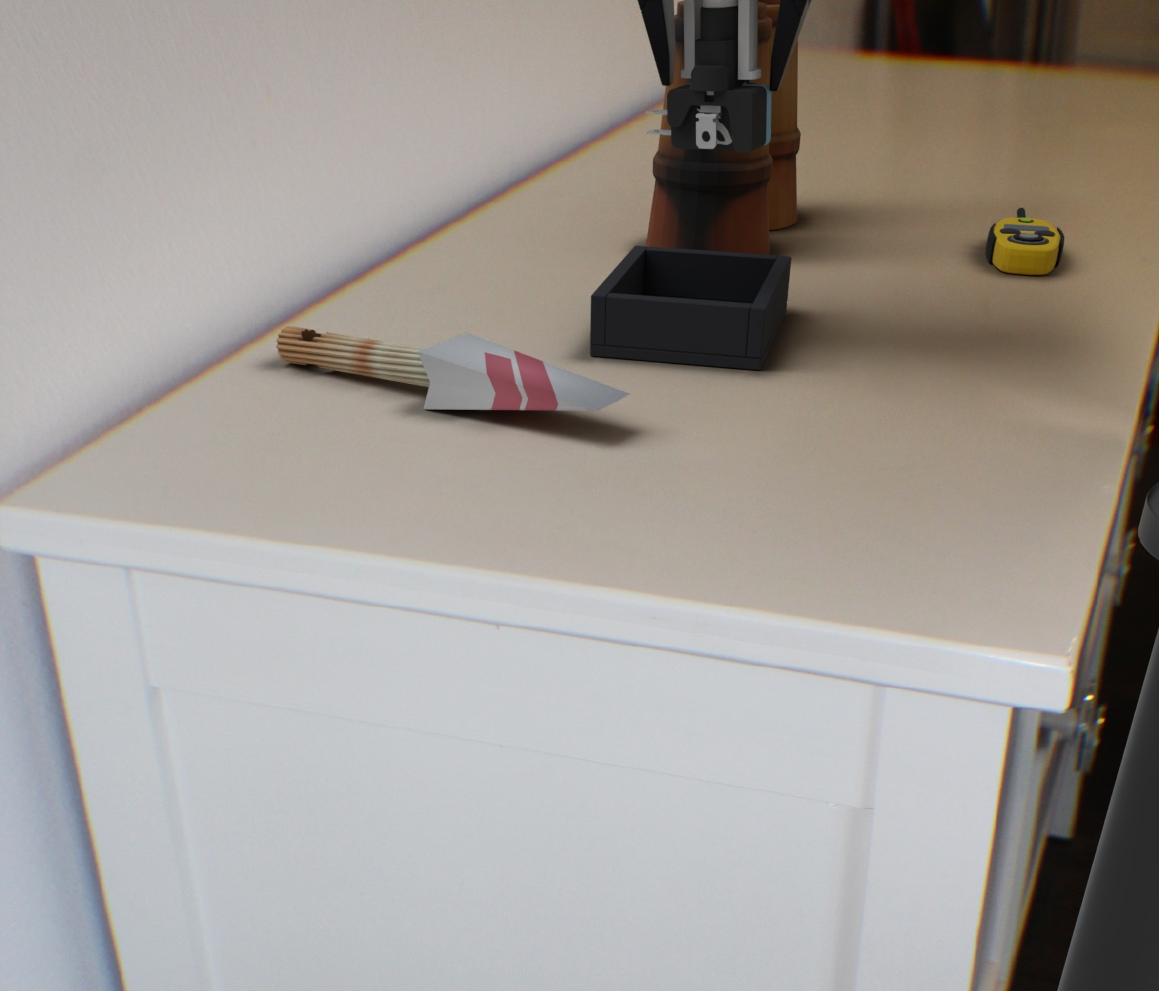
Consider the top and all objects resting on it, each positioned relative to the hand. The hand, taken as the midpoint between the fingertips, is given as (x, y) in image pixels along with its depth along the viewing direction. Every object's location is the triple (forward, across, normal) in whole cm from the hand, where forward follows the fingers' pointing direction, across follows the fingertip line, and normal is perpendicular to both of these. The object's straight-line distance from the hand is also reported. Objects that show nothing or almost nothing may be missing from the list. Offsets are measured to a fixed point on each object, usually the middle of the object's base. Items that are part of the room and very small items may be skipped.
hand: (721, 87), depth 70 cm
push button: (+3, 0, 0) cm, 3 cm away
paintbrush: (+13, +11, +12) cm, 20 cm away
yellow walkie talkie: (+13, -17, -28) cm, 35 cm away
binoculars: (+13, +3, -26) cm, 29 cm away
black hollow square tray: (+12, +1, -2) cm, 13 cm away
